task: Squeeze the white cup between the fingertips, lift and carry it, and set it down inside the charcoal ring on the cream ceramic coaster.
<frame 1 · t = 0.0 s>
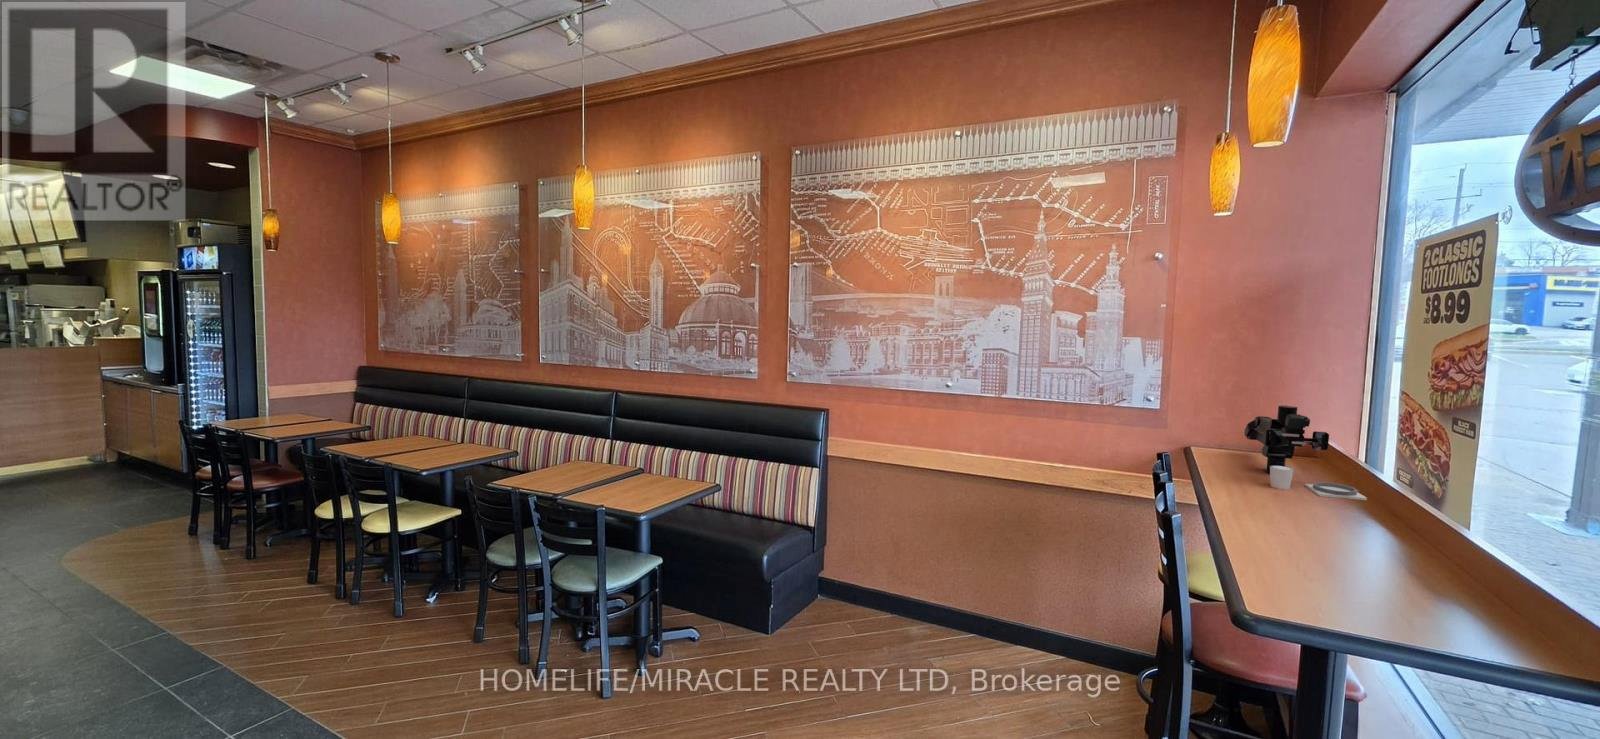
hand: (1304, 444, 226), 17 cm above the table, tool horizontal, fingers open, 9 cm apart
white cup: (1279, 487, 233), on the table
coaster: (1334, 492, 226), on the table
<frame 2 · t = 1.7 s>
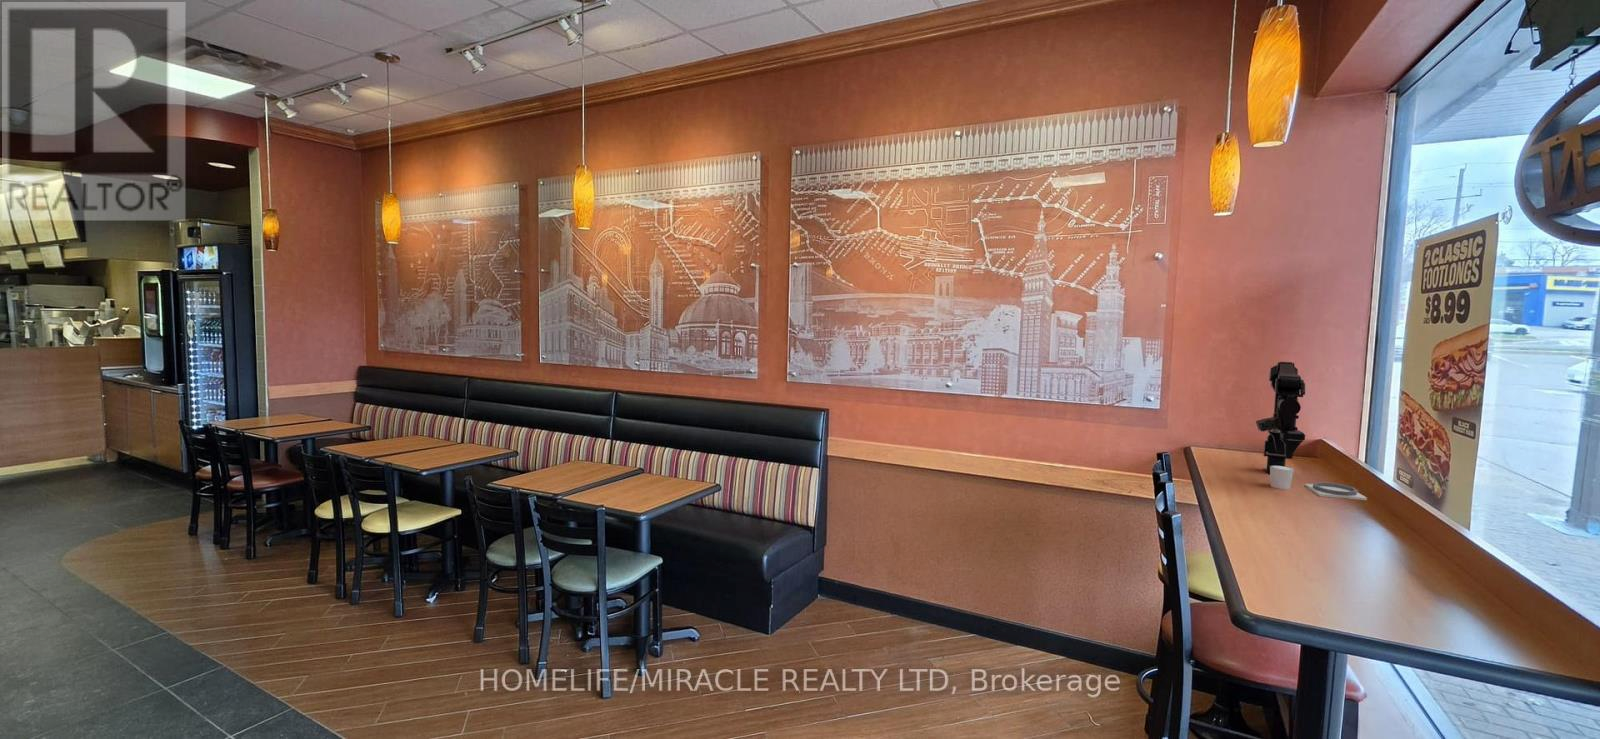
hand: (1282, 455, 232), 11 cm above the table, tool pointing down, fingers open, 9 cm apart
nothing on the table moved.
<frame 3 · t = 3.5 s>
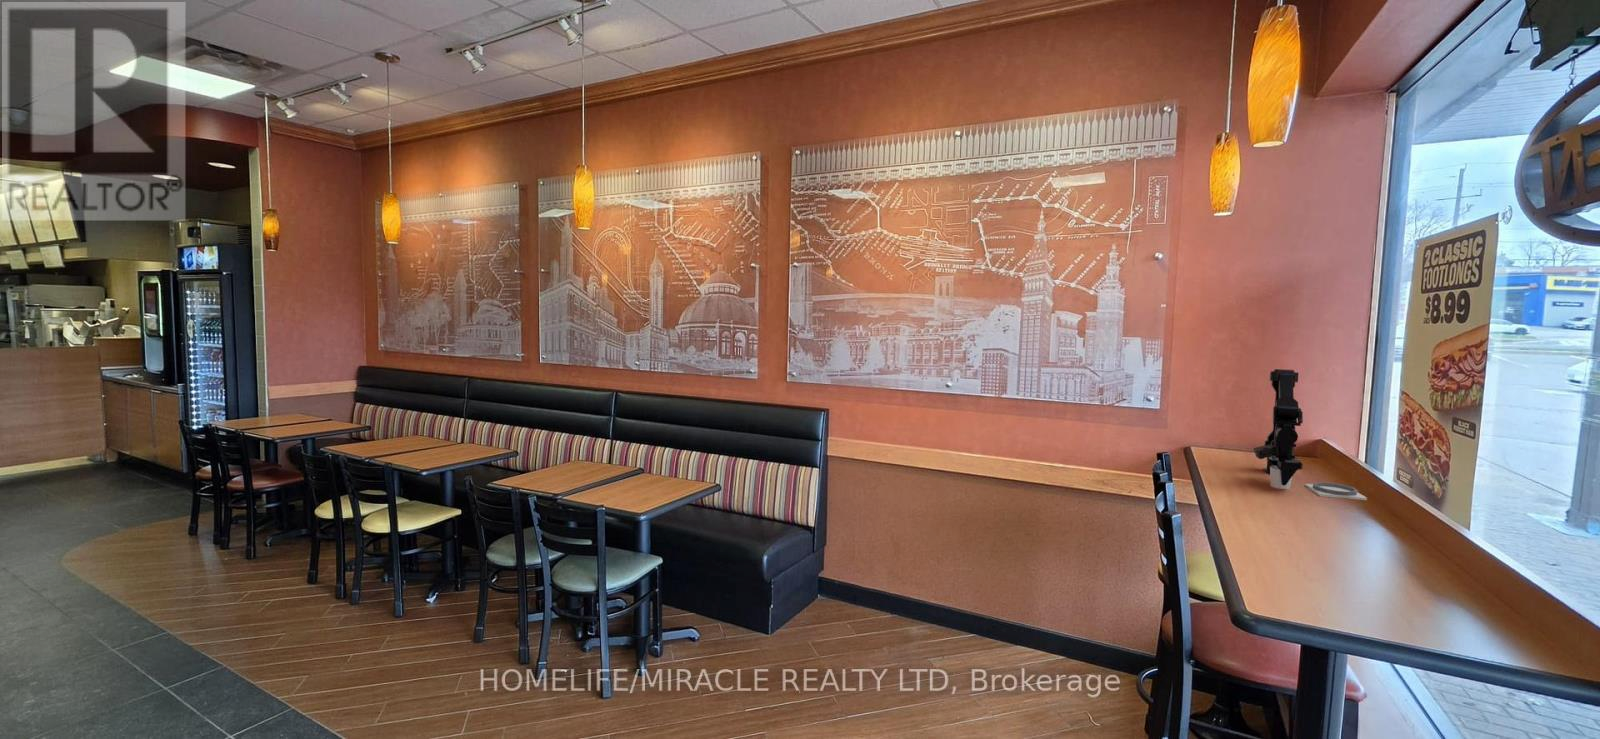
hand: (1280, 482, 233), 2 cm above the table, tool pointing down, fingers closed on white cup, 6 cm apart
white cup: (1279, 487, 233), on the table, touching gripper
when the fingers open (3 cm above the table, at t = 9.0 s): white cup stays where it is, resting on coaster.
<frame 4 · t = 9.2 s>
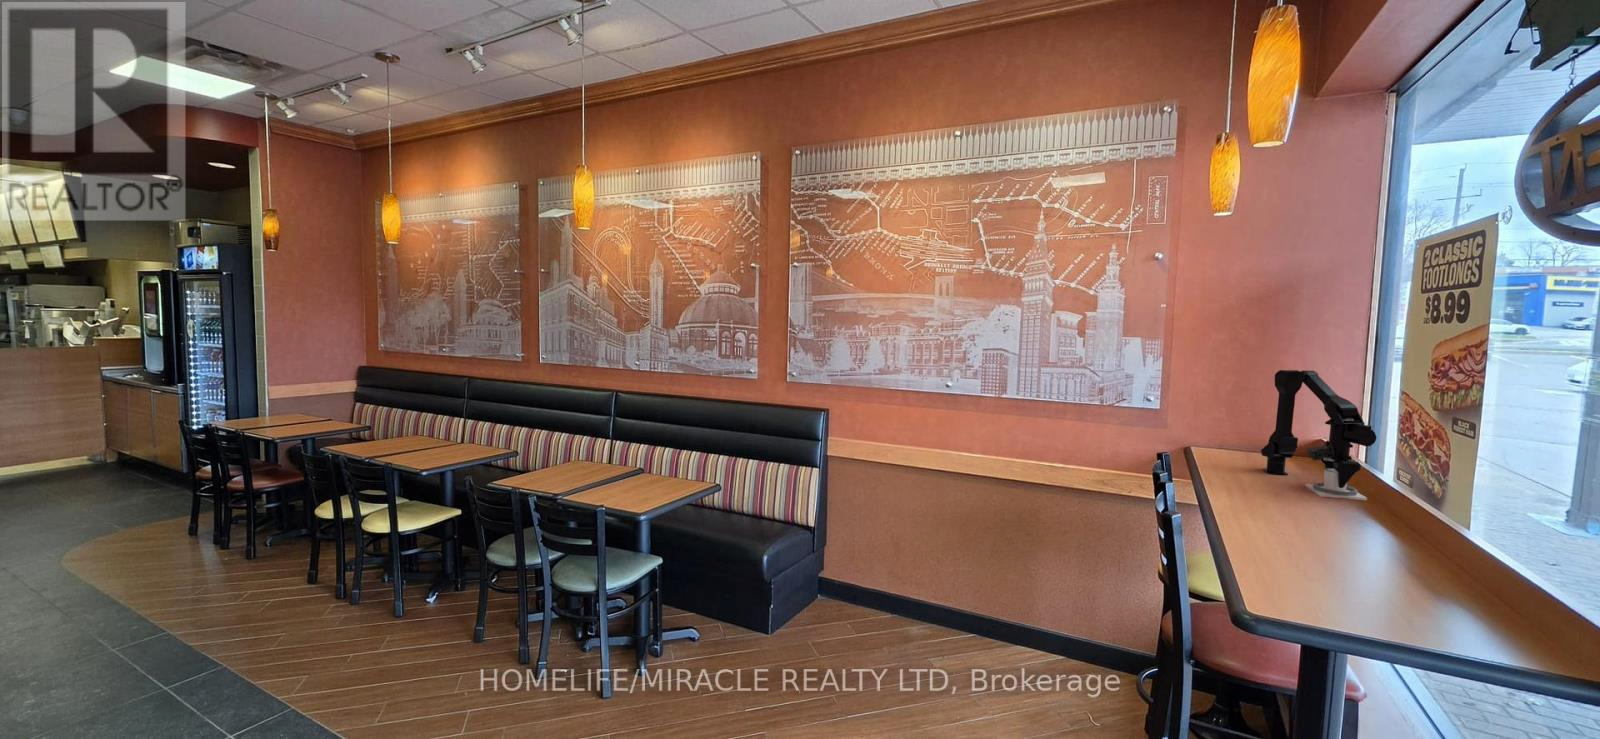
hand: (1335, 484, 226), 3 cm above the table, tool pointing down, fingers open, 8 cm apart
white cup: (1334, 491, 226), point 1 cm above the table, touching coaster
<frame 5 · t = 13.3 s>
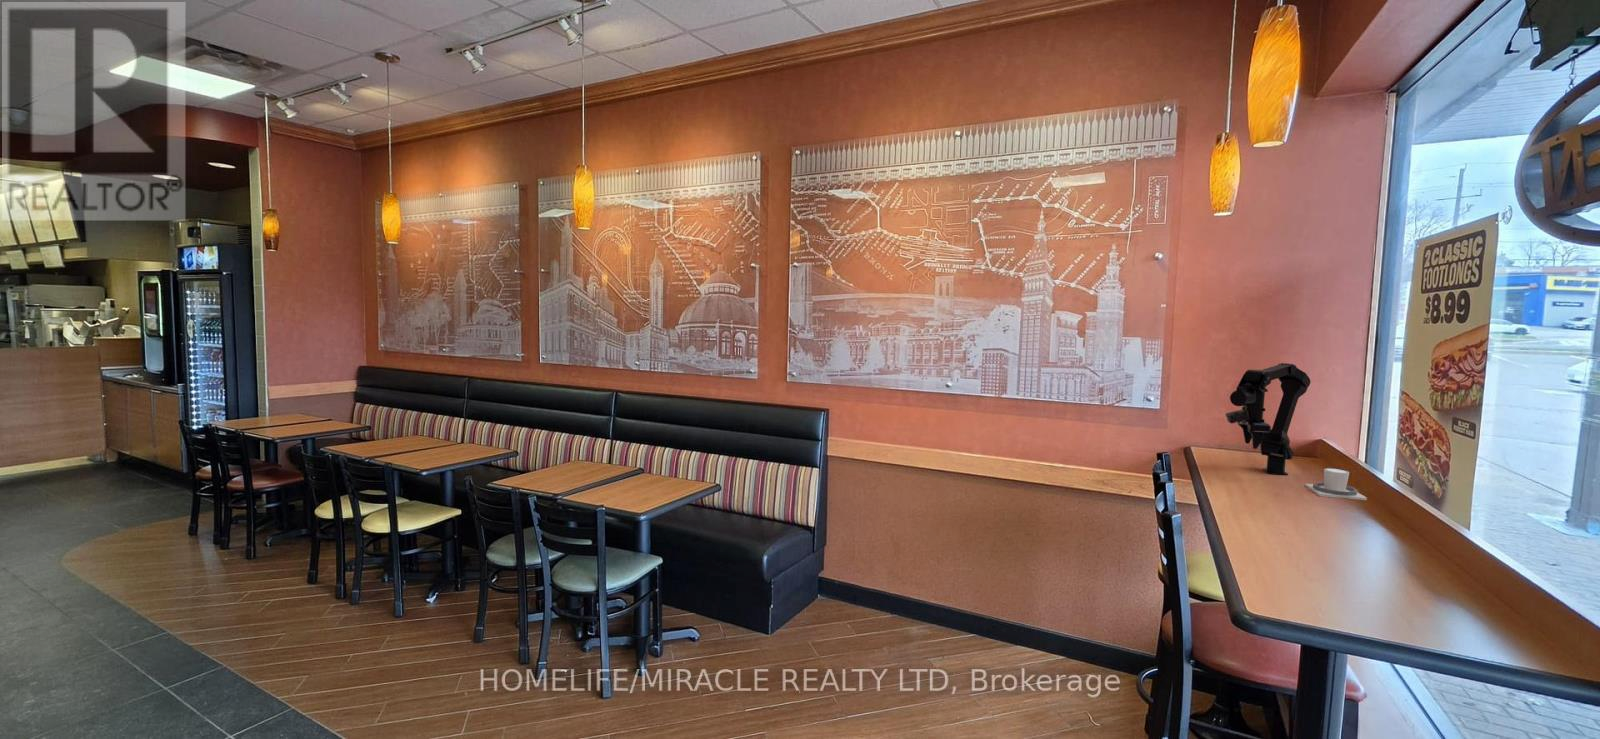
hand: (1250, 446, 243), 12 cm above the table, tool pointing down, fingers open, 9 cm apart
nothing on the table moved.
at the end: white cup 0.1 cm off-centre on the coaster, point 0.6 cm above the coaster's base; white cup tilted 0°; the gripper is holding nothing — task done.
